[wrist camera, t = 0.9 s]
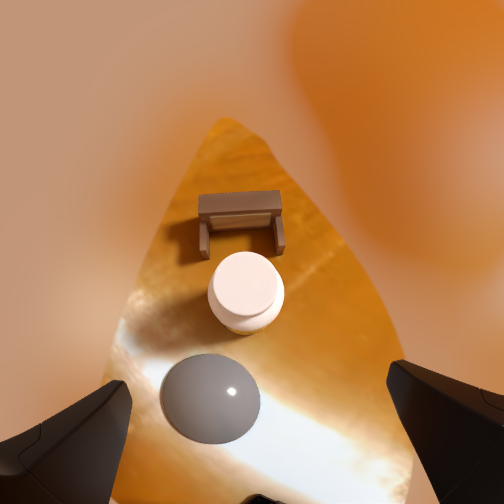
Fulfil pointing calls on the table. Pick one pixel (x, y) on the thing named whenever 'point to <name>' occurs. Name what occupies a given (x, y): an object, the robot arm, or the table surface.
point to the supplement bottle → (245, 293)
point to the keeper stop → (240, 215)
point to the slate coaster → (211, 399)
